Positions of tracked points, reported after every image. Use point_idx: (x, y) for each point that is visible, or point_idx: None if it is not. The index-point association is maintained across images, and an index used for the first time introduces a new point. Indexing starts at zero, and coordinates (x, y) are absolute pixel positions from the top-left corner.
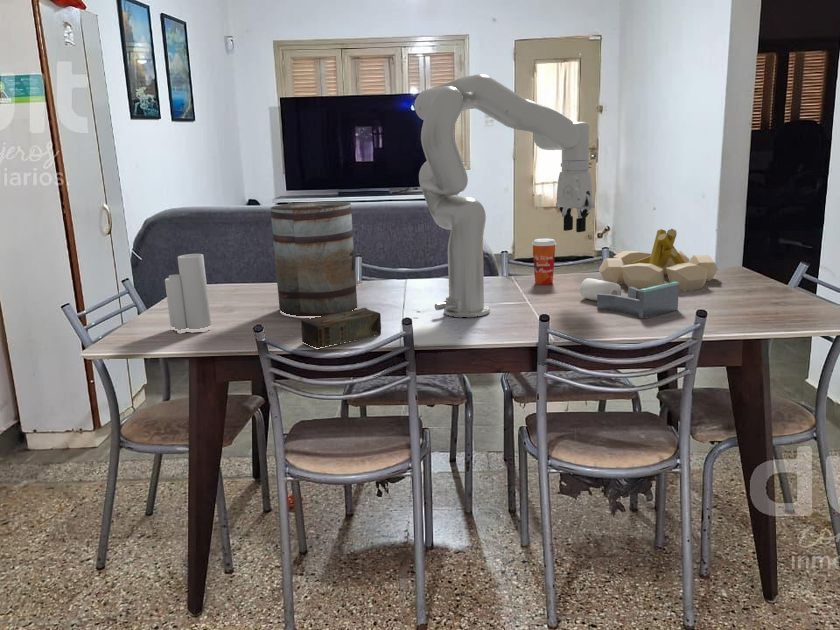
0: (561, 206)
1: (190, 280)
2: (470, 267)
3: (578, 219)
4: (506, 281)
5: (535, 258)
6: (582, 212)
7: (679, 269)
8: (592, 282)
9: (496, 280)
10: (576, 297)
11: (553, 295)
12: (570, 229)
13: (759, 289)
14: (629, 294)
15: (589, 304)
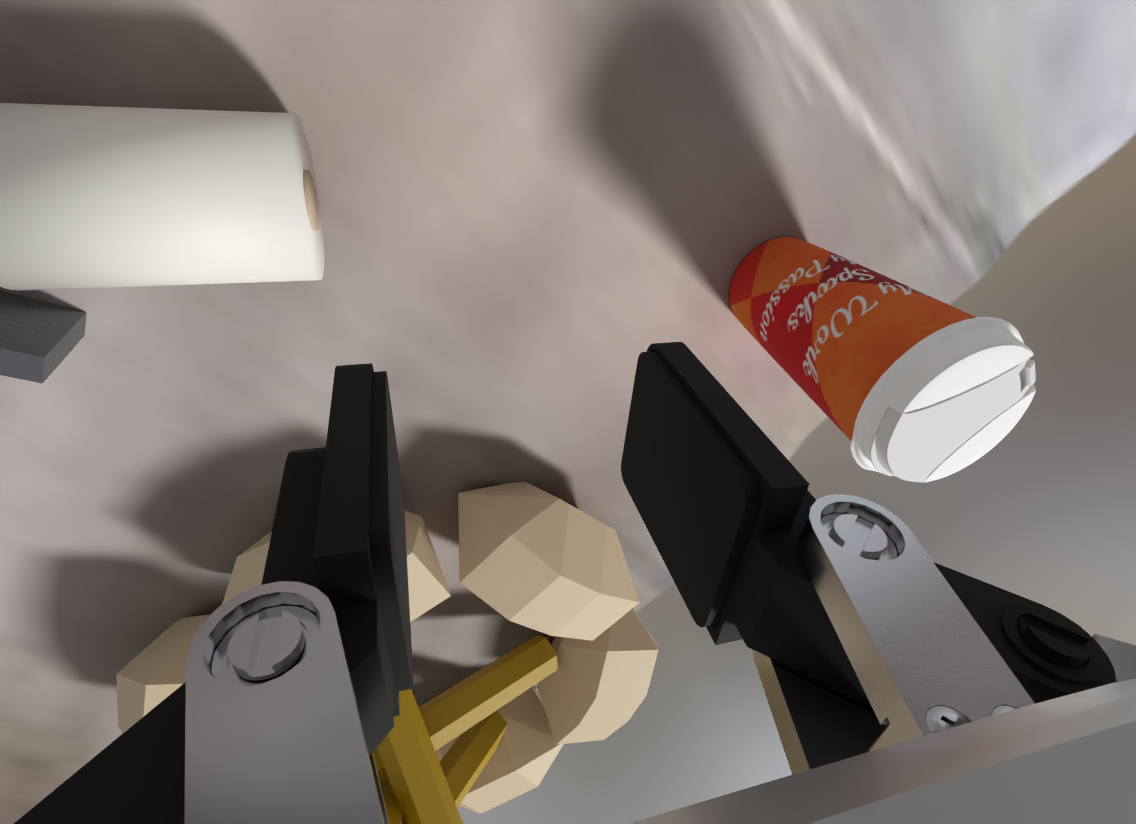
0: (1117, 690)
1: None
2: None
3: (322, 554)
4: (965, 162)
5: (902, 286)
6: (179, 818)
7: (142, 705)
8: (174, 167)
9: (1024, 139)
10: (374, 139)
11: (527, 66)
12: (626, 439)
13: (44, 791)
14: (38, 326)
15: (101, 17)
